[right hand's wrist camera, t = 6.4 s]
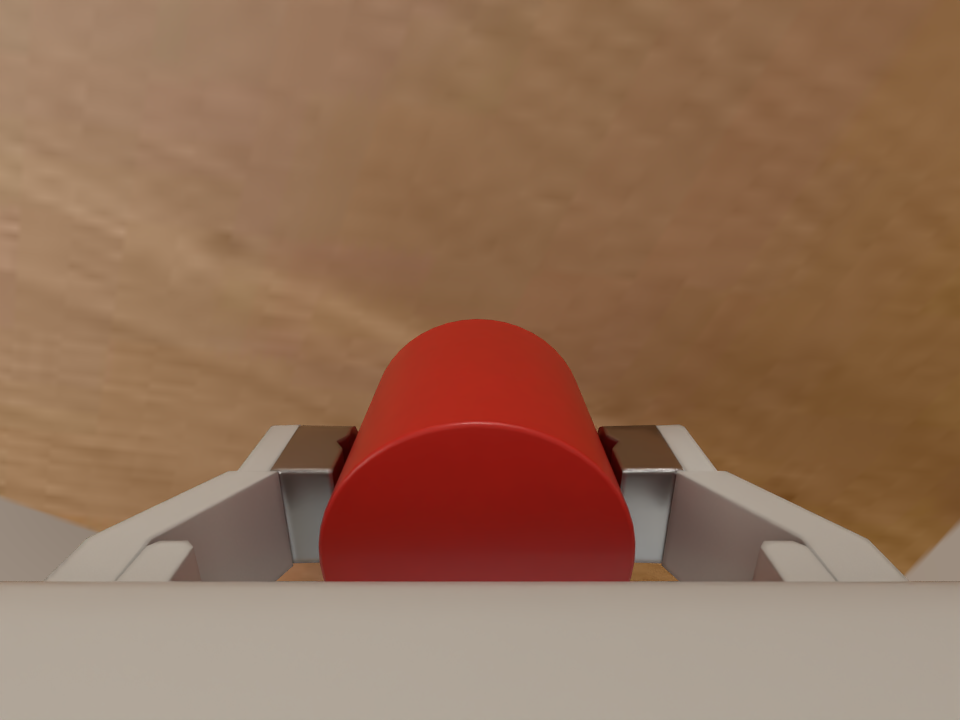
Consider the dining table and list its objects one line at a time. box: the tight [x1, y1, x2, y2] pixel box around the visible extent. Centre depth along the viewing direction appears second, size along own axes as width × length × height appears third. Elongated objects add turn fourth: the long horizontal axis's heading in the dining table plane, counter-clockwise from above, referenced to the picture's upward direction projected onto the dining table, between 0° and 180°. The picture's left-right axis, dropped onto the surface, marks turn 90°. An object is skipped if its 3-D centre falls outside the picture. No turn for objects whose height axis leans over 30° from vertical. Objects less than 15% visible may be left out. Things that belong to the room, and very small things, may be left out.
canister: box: [319, 319, 636, 581], centre depth 10 cm, size 4×4×4 cm
